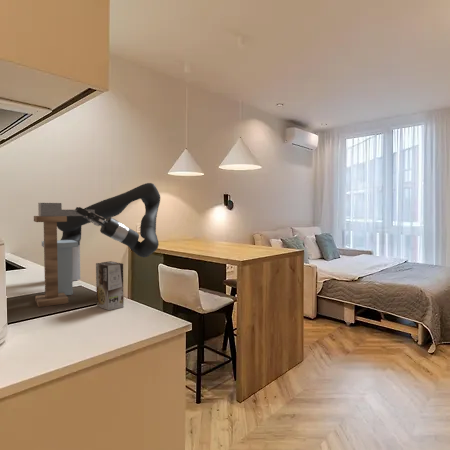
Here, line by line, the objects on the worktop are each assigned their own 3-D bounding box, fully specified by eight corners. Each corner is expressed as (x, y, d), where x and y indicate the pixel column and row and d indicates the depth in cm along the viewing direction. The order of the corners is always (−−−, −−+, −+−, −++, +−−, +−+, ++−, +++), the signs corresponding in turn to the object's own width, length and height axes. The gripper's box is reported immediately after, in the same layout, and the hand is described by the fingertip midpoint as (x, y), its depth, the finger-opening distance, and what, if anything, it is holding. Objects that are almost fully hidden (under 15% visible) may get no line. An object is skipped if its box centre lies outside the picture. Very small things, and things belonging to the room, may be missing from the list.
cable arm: (38, 216, 132) (38, 202, 132) (91, 215, 143) (91, 203, 143) (40, 216, 127) (40, 202, 126) (96, 216, 138) (95, 203, 137)
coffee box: (124, 307, 127) (124, 263, 126) (108, 310, 122) (107, 265, 122) (111, 302, 133) (111, 260, 133) (95, 305, 129) (95, 262, 128)
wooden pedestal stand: (35, 300, 134) (33, 215, 133) (63, 297, 140) (62, 215, 138) (38, 307, 126) (36, 216, 125) (68, 303, 132) (66, 216, 130)
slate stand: (42, 292, 147) (41, 241, 146) (72, 289, 154) (72, 239, 153) (46, 298, 138) (45, 243, 136) (78, 294, 144) (77, 242, 143)
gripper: (114, 221, 152) (77, 201, 143) (124, 222, 141) (85, 200, 132) (105, 236, 150) (68, 216, 142) (115, 238, 139) (75, 217, 130)
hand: (76, 209), depth 137 cm, fingers open, 3 cm apart
